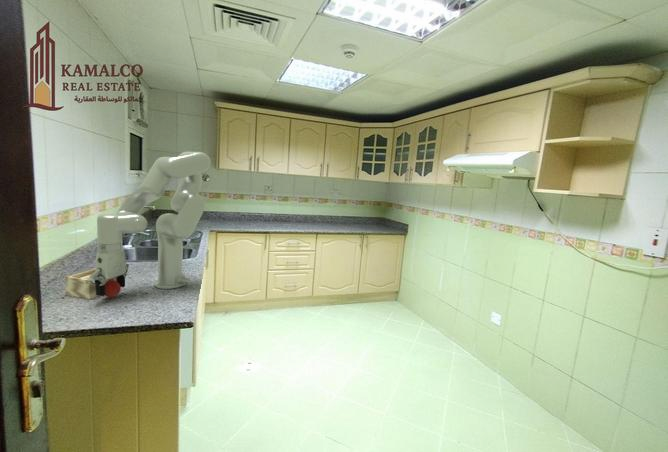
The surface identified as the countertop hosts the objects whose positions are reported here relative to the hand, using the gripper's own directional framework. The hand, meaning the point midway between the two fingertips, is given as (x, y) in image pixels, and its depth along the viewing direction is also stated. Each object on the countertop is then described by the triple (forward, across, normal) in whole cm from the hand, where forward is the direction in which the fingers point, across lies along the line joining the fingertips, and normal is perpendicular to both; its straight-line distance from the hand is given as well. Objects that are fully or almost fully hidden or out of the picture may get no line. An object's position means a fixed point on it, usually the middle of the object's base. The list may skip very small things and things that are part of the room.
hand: (111, 290), depth 120 cm
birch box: (+3, +4, +11) cm, 12 cm away
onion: (+3, 0, 0) cm, 3 cm away
